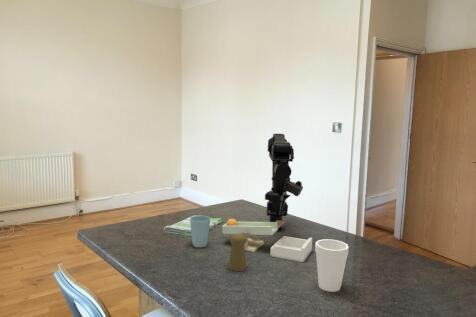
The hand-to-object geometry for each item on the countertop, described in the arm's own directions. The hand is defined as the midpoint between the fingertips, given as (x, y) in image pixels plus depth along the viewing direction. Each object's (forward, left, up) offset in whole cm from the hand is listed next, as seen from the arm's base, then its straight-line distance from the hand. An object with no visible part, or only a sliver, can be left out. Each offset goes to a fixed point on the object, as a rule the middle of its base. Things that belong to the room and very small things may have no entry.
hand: (279, 213), depth 150 cm
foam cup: (+30, +26, -11) cm, 42 cm away
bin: (+10, +8, -11) cm, 17 cm away
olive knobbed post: (+30, -4, -11) cm, 33 cm away
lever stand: (+10, -8, -11) cm, 17 cm away
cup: (+18, -25, -11) cm, 33 cm away
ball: (+10, -16, -4) cm, 19 cm away
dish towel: (0, -38, -12) cm, 40 cm away
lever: (+6, -8, -6) cm, 11 cm away
